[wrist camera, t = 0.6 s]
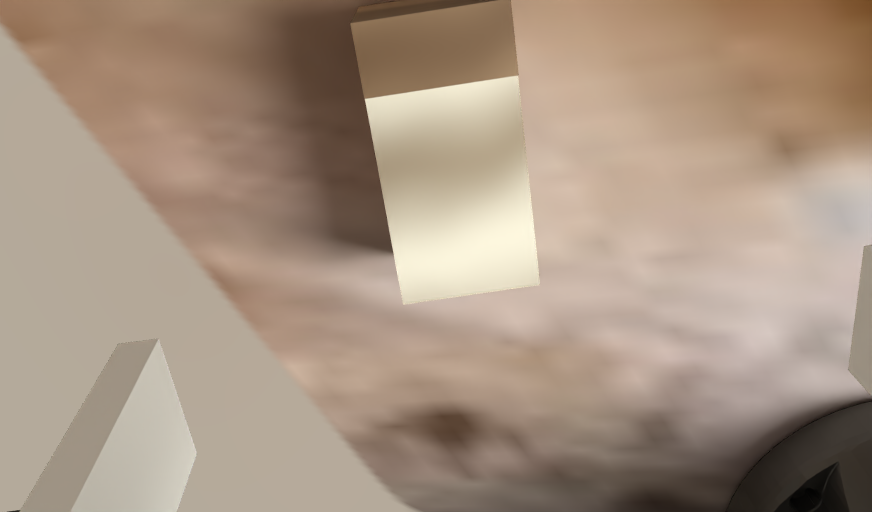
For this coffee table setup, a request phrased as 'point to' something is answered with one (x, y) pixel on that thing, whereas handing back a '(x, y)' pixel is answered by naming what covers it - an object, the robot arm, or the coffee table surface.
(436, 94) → the cream block
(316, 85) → the coffee table surface
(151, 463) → the robot arm
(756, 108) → the coffee table surface
